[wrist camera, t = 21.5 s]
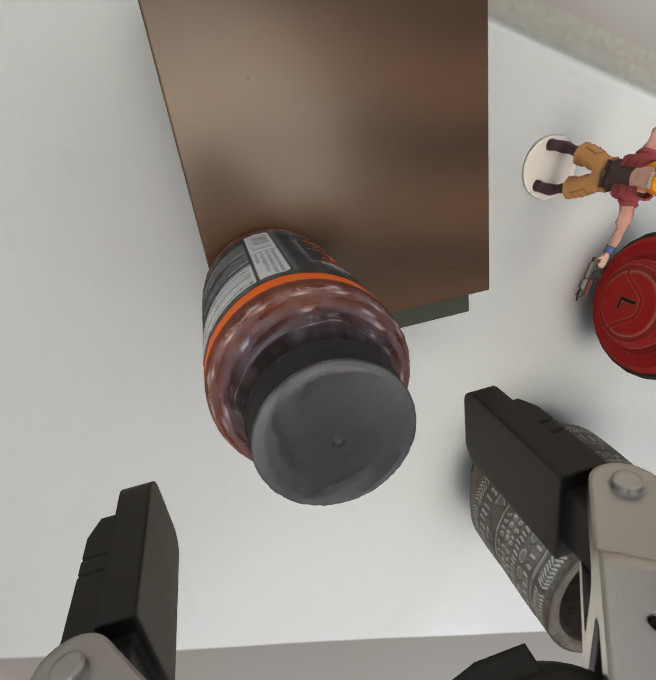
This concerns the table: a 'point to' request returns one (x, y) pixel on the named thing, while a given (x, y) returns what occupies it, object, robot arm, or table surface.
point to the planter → (535, 553)
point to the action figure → (592, 183)
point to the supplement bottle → (304, 369)
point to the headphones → (629, 308)
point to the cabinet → (337, 131)
